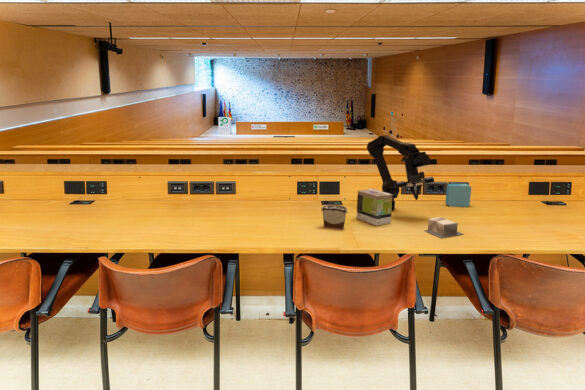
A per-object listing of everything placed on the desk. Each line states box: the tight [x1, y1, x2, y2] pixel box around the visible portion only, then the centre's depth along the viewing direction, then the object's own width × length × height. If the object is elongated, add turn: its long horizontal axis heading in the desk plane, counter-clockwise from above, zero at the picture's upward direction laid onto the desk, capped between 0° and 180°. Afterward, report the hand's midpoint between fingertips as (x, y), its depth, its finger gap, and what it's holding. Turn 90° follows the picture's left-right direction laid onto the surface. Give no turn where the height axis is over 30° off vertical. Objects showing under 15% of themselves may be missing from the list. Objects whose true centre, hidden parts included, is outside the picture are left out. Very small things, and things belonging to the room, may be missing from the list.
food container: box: [321, 204, 348, 230], centre depth 212 cm, size 12×6×10 cm, turn 71°
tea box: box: [356, 188, 393, 227], centre depth 220 cm, size 15×10×15 cm, turn 31°
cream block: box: [427, 216, 459, 236], centre depth 205 cm, size 5×7×11 cm
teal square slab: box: [445, 183, 472, 208], centre depth 249 cm, size 12×4×12 cm, turn 86°
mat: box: [423, 229, 464, 239], centre depth 205 cm, size 11×13×1 cm
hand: (416, 199), depth 224 cm, fingers closed
